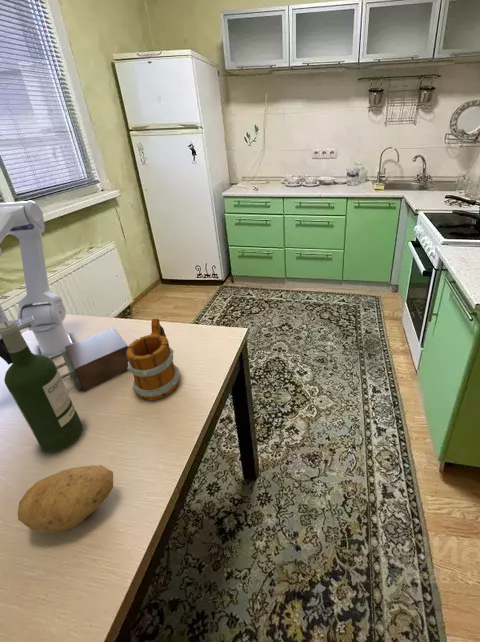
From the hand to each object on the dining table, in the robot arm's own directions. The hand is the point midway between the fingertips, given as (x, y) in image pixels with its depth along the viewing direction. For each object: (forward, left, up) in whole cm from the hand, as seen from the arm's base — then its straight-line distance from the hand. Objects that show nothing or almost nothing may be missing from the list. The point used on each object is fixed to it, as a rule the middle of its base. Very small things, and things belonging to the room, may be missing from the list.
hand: (11, 361), depth 78 cm
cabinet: (+4, +17, -10) cm, 20 cm away
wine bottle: (+21, +4, -11) cm, 24 cm away
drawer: (+4, +13, -10) cm, 17 cm away
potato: (+40, +3, -11) cm, 41 cm away
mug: (+19, +27, -11) cm, 35 cm away
